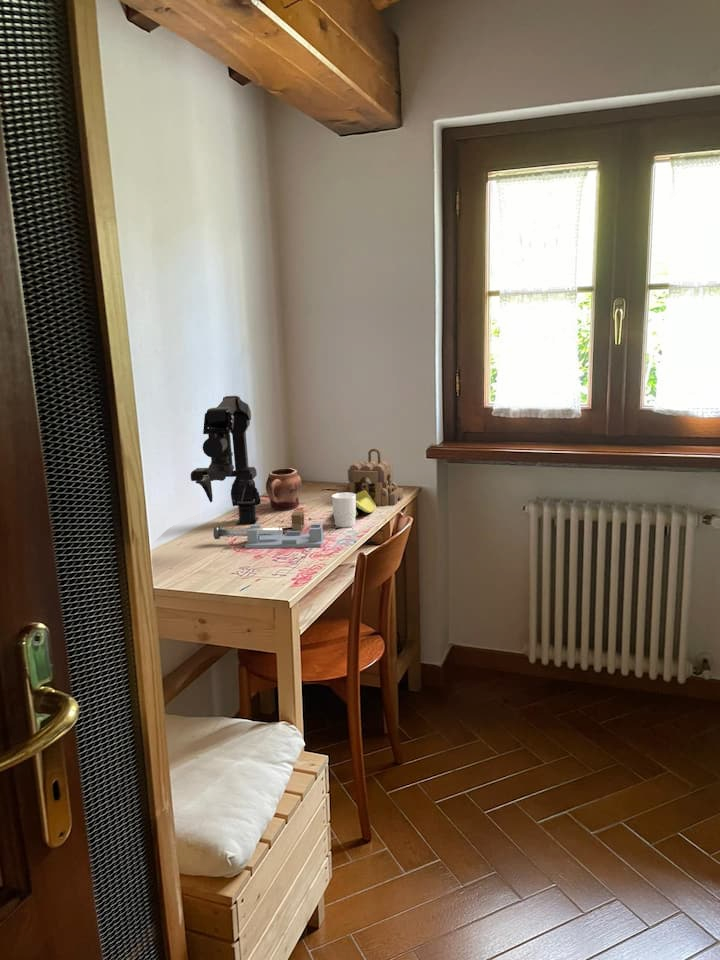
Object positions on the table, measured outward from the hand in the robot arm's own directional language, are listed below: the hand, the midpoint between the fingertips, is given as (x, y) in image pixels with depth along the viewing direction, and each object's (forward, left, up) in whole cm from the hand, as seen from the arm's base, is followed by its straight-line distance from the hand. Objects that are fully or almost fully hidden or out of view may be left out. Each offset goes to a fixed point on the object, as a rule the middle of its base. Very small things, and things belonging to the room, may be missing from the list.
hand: (226, 501), depth 220 cm
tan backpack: (-53, +40, -15) cm, 68 cm away
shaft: (-4, +5, -13) cm, 14 cm away
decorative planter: (-44, +10, -15) cm, 47 cm away
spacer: (-18, +18, -14) cm, 29 cm away
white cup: (-22, +34, -15) cm, 42 cm away
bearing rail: (-4, +16, -14) cm, 22 cm away
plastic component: (-36, +35, -15) cm, 52 cm away
